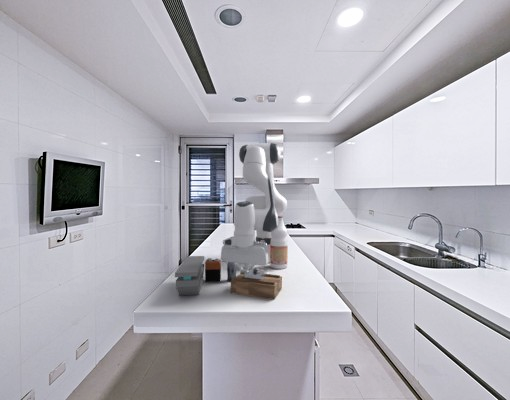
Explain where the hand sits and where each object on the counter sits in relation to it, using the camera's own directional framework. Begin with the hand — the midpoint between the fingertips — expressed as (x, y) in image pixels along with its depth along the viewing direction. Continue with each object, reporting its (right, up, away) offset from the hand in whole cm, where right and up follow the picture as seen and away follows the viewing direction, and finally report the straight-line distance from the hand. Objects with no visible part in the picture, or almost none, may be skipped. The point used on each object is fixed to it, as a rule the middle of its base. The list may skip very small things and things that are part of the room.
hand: (244, 273), depth 105 cm
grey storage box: (-22, -7, -1) cm, 23 cm away
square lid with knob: (+5, -1, -2) cm, 5 cm away
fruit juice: (+18, -6, +33) cm, 38 cm away
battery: (-15, -6, +11) cm, 19 cm away
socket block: (+5, -6, -2) cm, 8 cm away
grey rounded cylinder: (-6, -6, +11) cm, 14 cm away
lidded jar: (0, -6, +31) cm, 31 cm away
